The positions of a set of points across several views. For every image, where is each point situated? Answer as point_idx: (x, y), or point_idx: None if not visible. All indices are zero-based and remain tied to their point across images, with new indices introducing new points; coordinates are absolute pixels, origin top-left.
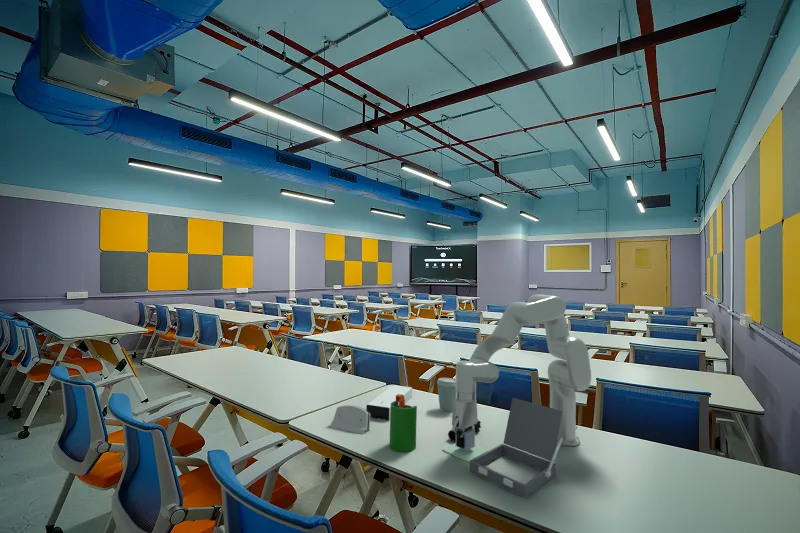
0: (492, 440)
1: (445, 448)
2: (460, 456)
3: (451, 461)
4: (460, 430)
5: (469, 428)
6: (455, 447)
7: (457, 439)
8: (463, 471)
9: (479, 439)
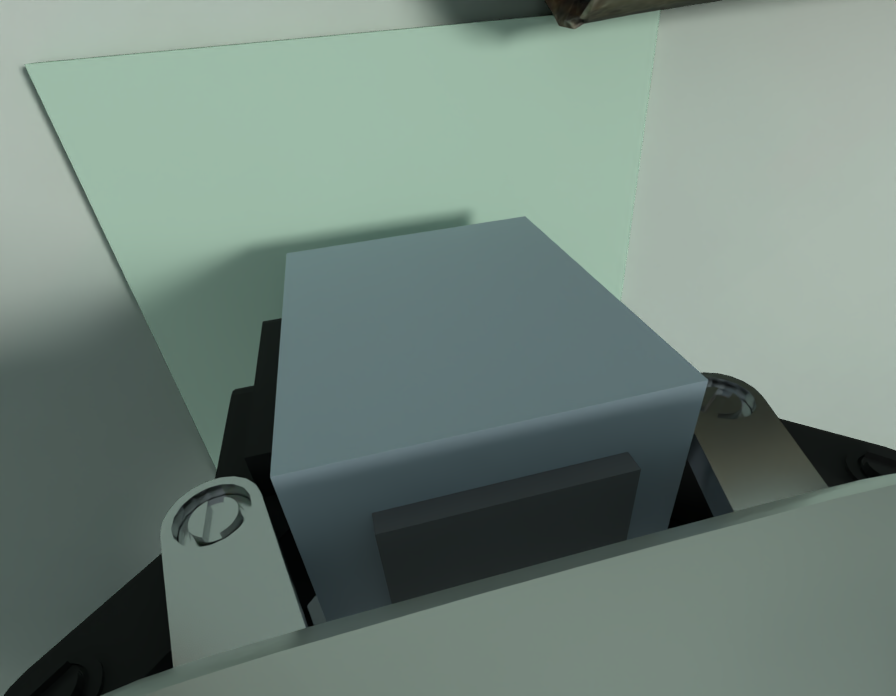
0: (887, 260)
1: (131, 78)
2: (219, 410)
3: (26, 423)
4: (370, 551)
5: (659, 526)
6: (347, 164)
7: (222, 458)
8: (63, 599)
9: (851, 146)
